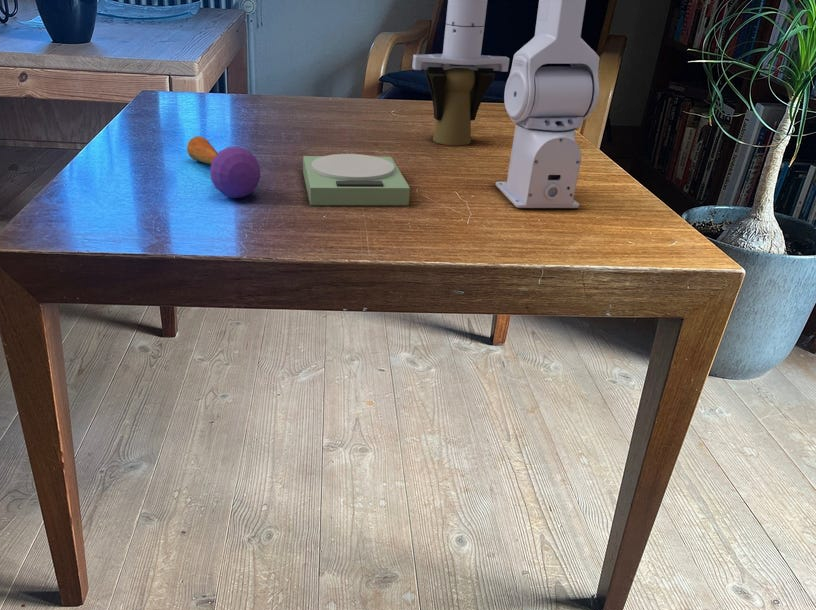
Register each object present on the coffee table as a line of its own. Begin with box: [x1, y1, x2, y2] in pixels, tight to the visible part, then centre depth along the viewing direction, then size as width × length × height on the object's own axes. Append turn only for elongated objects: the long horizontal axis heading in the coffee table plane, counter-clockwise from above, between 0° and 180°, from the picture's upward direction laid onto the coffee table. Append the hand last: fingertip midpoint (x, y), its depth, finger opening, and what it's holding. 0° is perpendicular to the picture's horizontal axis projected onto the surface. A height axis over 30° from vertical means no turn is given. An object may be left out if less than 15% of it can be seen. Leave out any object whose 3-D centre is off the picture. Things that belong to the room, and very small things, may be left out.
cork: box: [432, 68, 476, 146], centre depth 115 cm, size 6×6×11 cm
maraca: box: [186, 135, 261, 199], centre depth 94 cm, size 6×6×20 cm
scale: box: [302, 153, 411, 206], centre depth 94 cm, size 14×12×3 cm
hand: (454, 118), depth 116 cm, fingers closed on cork, 5 cm apart
